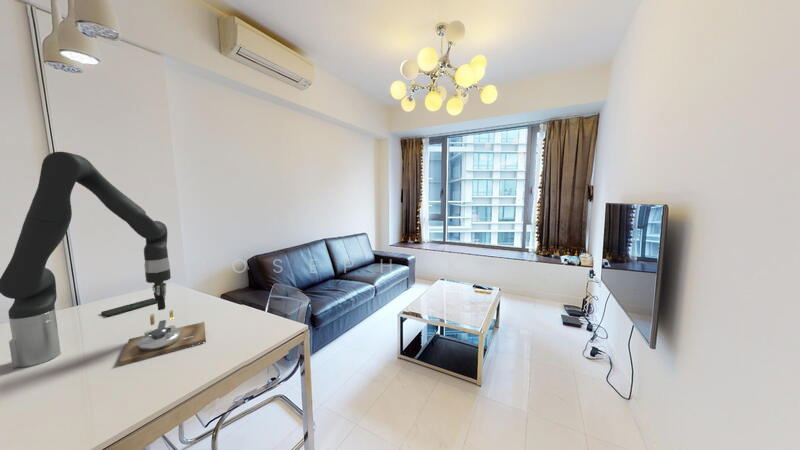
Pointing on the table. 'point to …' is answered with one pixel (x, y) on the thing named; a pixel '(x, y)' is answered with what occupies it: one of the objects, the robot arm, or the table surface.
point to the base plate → (187, 338)
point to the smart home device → (129, 307)
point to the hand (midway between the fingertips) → (161, 309)
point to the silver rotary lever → (159, 336)
